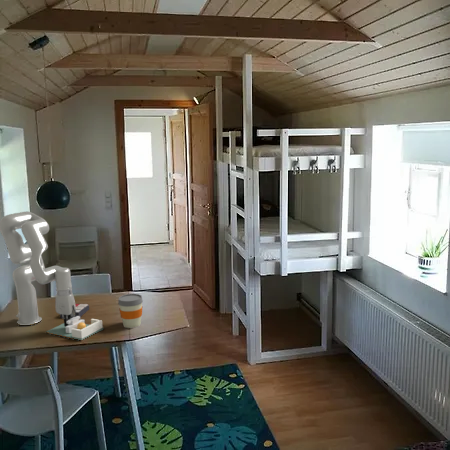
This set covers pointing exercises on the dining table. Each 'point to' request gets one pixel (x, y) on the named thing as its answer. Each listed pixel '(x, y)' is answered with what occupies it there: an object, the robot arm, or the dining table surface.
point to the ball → (81, 325)
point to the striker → (73, 323)
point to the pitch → (62, 331)
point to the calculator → (80, 310)
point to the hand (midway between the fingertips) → (67, 325)
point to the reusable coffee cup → (130, 309)
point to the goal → (87, 329)
